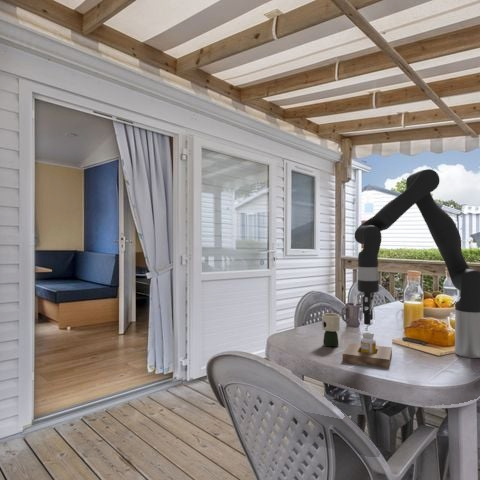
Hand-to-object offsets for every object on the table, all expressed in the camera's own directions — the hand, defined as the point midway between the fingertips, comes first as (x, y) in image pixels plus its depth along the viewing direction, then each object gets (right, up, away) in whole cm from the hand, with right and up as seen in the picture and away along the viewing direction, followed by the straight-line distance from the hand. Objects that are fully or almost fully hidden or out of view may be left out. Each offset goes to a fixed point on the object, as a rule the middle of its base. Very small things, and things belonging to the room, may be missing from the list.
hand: (368, 321), depth 143 cm
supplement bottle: (0, -14, 0) cm, 14 cm away
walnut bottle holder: (0, -14, 0) cm, 14 cm away
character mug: (-10, -14, +17) cm, 24 cm away
